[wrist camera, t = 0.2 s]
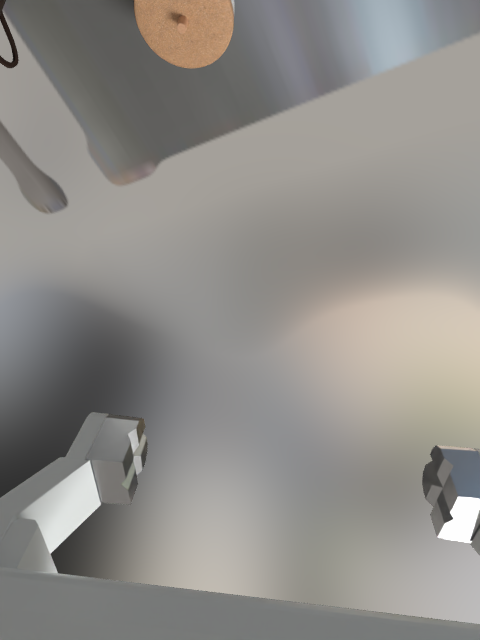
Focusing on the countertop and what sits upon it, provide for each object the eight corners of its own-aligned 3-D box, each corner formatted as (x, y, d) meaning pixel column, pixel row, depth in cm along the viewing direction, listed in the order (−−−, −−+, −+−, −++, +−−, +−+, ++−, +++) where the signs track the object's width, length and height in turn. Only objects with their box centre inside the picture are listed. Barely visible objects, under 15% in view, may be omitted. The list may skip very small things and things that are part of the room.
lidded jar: (252, 17, 52) (245, 63, 48) (174, 43, 56) (161, 87, 51) (219, -94, 43) (207, -51, 39) (130, -55, 47) (109, -11, 42)
